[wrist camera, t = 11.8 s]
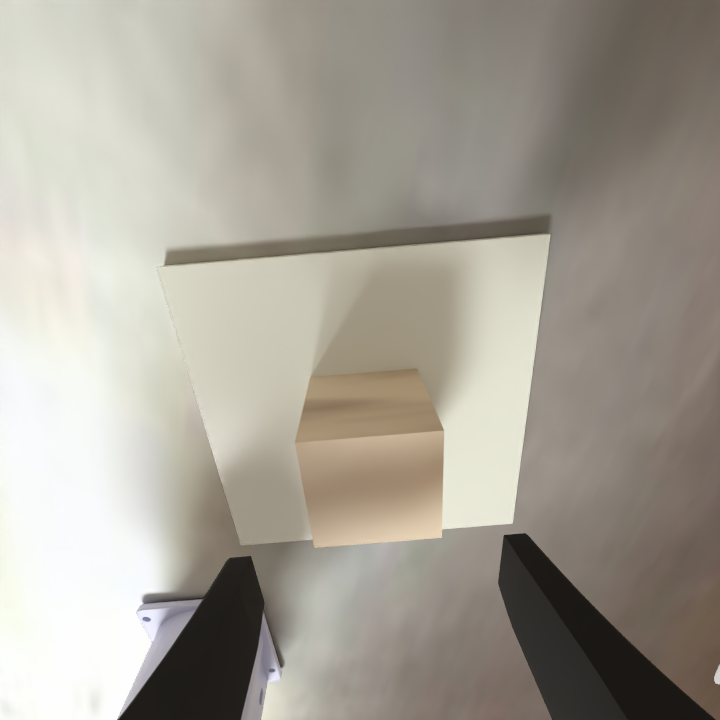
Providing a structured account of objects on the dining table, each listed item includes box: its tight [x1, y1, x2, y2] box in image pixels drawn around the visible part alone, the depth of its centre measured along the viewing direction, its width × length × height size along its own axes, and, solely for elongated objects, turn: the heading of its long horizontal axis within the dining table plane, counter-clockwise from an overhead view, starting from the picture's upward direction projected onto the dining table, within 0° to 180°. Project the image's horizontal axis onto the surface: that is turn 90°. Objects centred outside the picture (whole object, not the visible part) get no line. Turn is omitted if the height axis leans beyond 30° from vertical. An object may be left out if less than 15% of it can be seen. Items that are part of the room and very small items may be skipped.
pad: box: [156, 233, 551, 546], centre depth 17 cm, size 16×16×1 cm
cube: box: [295, 368, 444, 548], centre depth 15 cm, size 5×5×5 cm
